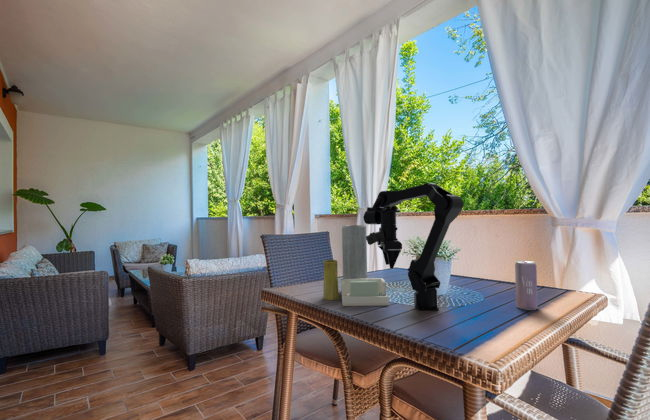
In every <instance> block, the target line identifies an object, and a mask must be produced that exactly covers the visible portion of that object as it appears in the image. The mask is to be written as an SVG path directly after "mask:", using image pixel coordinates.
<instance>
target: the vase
mask: <svg viewBox="0 0 650 420" xmlns="http://www.w3.org/2000/svg"><path fill="white" fill-rule="evenodd" d="M338 274H339V273H338V260H336V259H325V260H323V296H322V299H323V300H325V301H337V300H339V298H340V294H339V293H340V292H339V280H338V279H339V278H338Z"/></svg>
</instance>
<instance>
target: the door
mask: <svg viewBox="0 0 650 420" xmlns="http://www.w3.org/2000/svg"><path fill="white" fill-rule="evenodd" d="M350 295H351V296H378V281H350Z"/></svg>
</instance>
